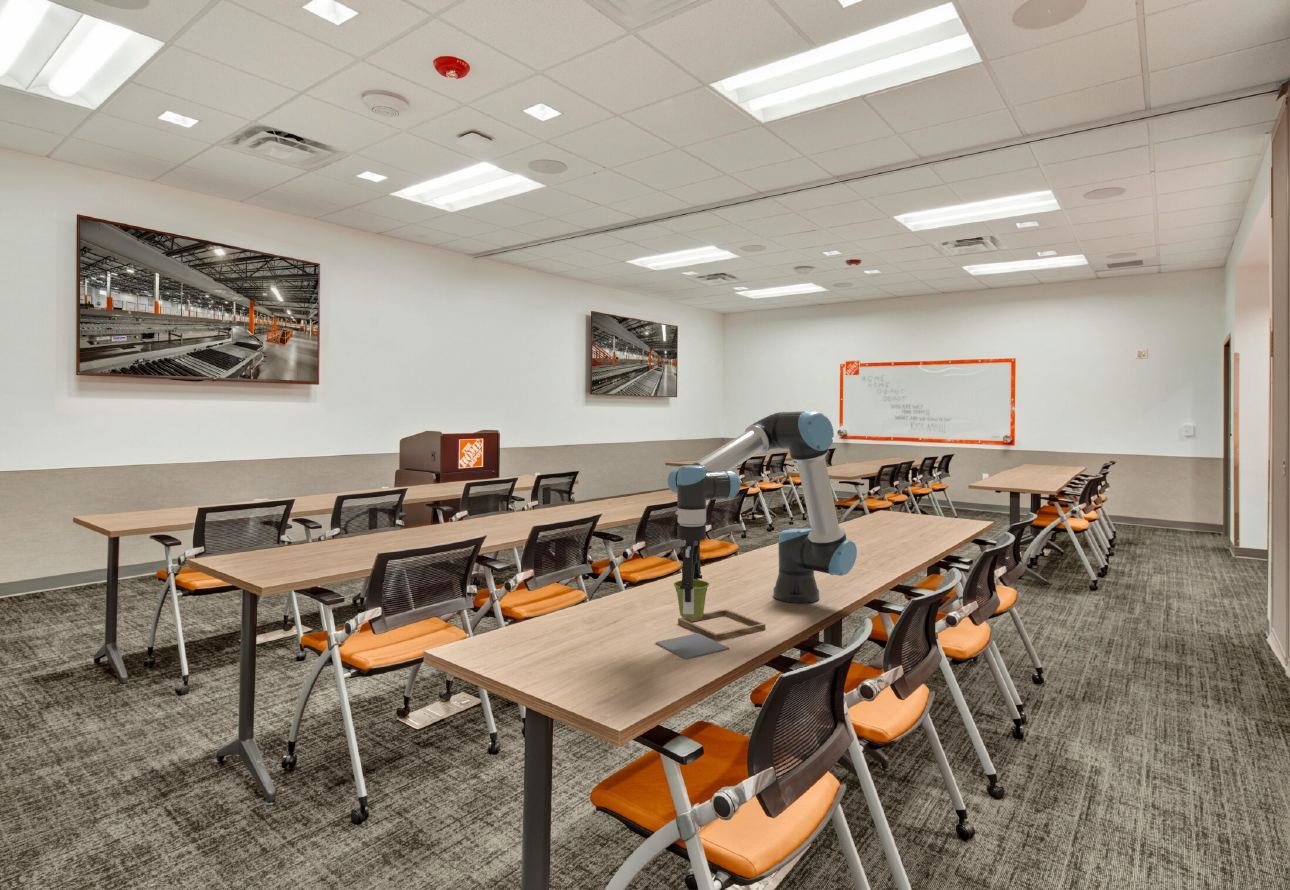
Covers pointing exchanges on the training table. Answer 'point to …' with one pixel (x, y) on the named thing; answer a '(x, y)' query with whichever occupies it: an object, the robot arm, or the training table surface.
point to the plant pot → (699, 598)
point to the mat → (692, 646)
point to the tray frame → (753, 628)
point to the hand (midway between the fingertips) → (691, 608)
